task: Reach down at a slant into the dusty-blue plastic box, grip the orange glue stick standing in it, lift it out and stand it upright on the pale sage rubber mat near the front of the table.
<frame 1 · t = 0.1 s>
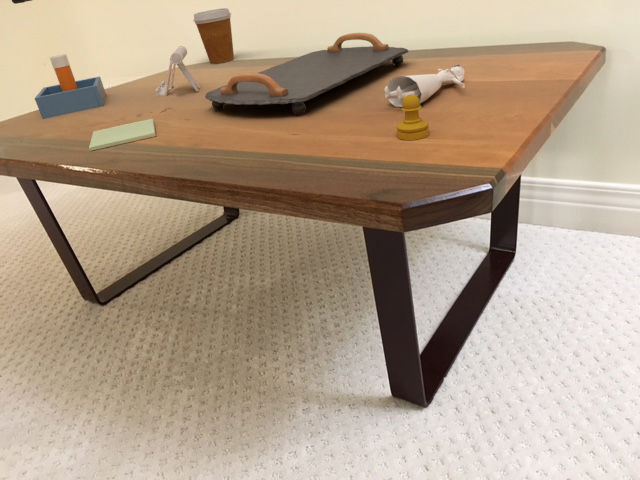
hand: (24, 2, 98), 21 cm above the table, tool pointing down, fingers open, 8 cm apart
chess piece: (413, 136, 67), on the table
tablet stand: (180, 93, 111), on the table
glue stick: (76, 106, 111), point 1 cm above the table, touching box
serving tray: (313, 87, 99), on the table
woman figurine: (429, 96, 82), on the table
box: (77, 109, 112), on the table
disposable coffee cup: (222, 61, 140), on the table
mat: (123, 135, 88), on the table
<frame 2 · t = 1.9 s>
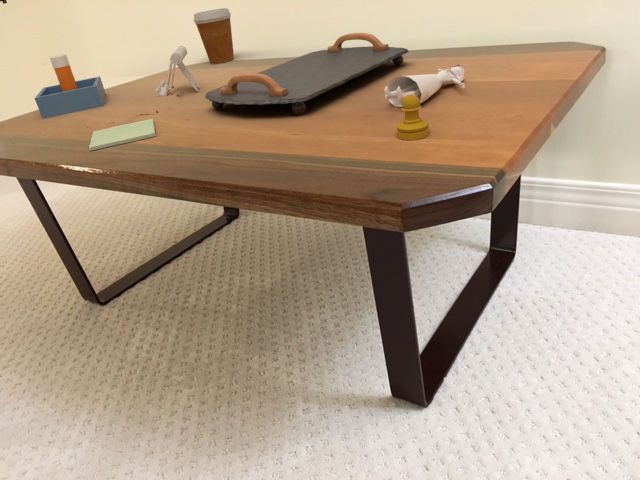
nothing on the table moved.
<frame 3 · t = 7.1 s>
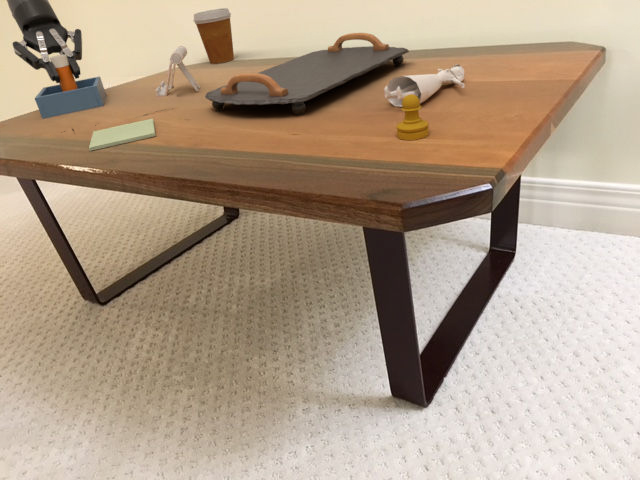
hand: (67, 77, 107), 7 cm above the table, tool tilted 45°, fingers closed on glue stick, 3 cm apart
glue stick: (76, 106, 111), point 1 cm above the table, touching box, gripper
everything else where it was.
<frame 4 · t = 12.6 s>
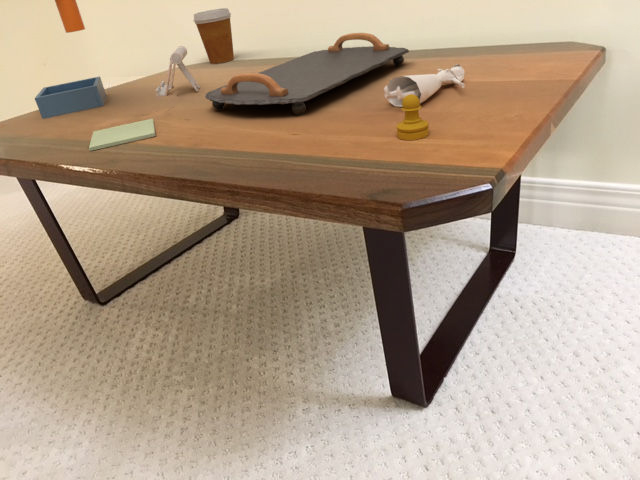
glue stick: (75, 30, 87), point 16 cm above the table, touching gripper
everything else where it was.
when the fingers open (7 cm above the table, at t = 18.2 s): glue stick stays where it is, resting on mat.
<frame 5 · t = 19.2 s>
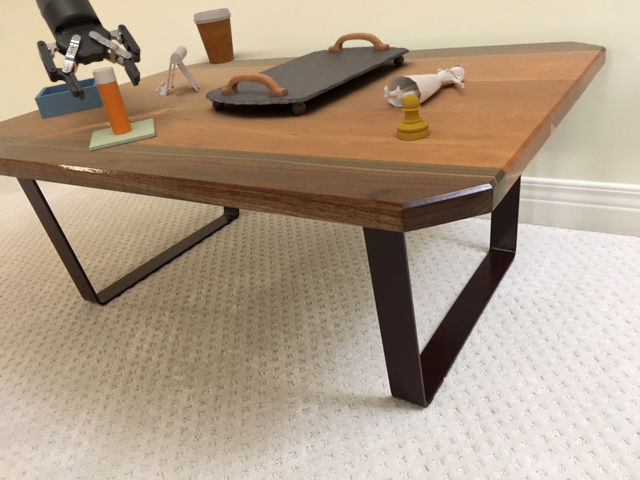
hand: (110, 89, 83), 8 cm above the table, tool tilted 45°, fingers open, 8 cm apart
glue stick: (123, 132, 87), point 1 cm above the table, touching mat
everything else where it was.
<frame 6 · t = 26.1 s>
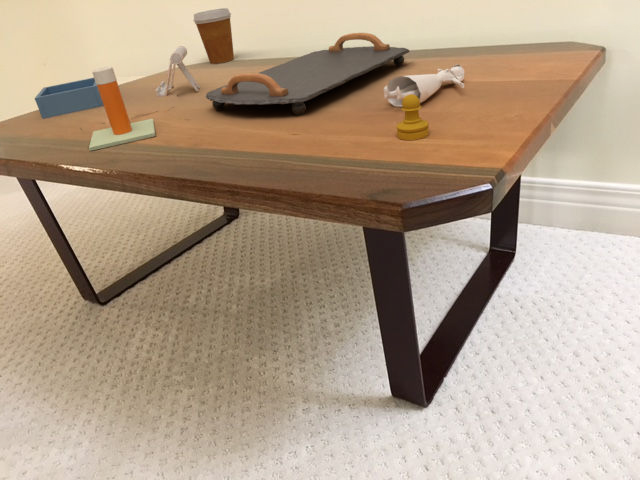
nothing on the table moved.
at the end: glue stick inside the target area on the mat (0.0 cm from its centre), point 0.6 cm above the mat's base; glue stick tilted 0°; the gripper is holding nothing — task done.
